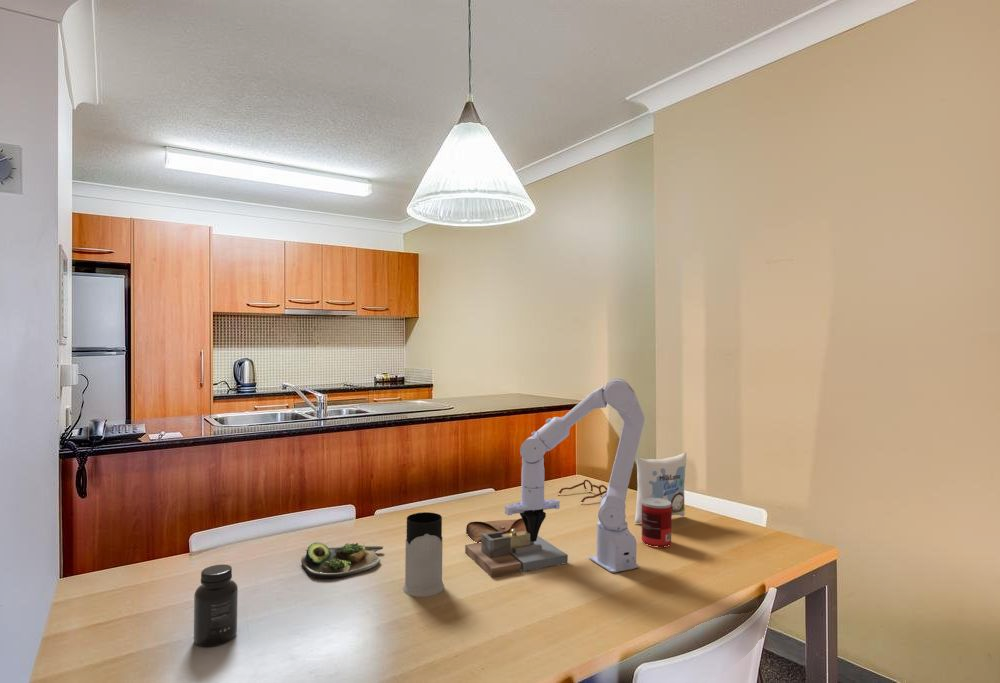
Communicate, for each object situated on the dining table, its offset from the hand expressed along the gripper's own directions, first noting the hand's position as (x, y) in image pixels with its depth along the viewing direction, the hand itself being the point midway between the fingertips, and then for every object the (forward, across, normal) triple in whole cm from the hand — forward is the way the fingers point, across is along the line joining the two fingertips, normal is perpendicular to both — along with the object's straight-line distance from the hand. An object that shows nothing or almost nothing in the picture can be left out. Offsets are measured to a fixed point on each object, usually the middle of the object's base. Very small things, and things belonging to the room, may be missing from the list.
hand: (532, 540), depth 138 cm
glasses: (+4, -41, -39) cm, 57 cm away
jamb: (+4, +11, 0) cm, 12 cm away
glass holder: (+4, +30, +4) cm, 30 cm away
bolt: (+1, +5, 0) cm, 5 cm away
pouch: (+4, -48, -8) cm, 49 cm away
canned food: (+4, -34, +6) cm, 35 cm away
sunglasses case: (+4, +1, -16) cm, 16 cm away
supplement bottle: (+4, +70, +11) cm, 71 cm away
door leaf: (+4, +1, 0) cm, 4 cm away
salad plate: (+4, +45, -14) cm, 47 cm away
